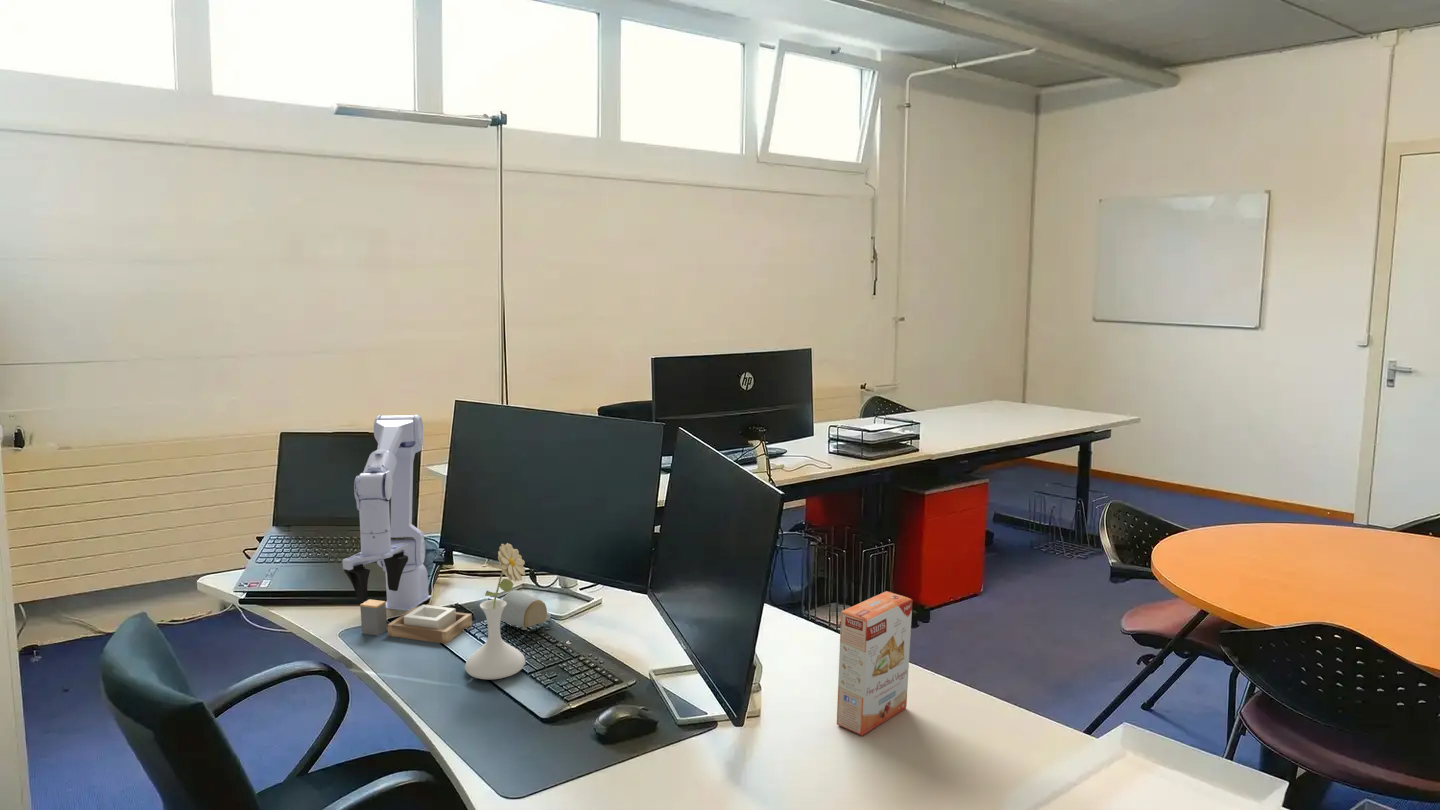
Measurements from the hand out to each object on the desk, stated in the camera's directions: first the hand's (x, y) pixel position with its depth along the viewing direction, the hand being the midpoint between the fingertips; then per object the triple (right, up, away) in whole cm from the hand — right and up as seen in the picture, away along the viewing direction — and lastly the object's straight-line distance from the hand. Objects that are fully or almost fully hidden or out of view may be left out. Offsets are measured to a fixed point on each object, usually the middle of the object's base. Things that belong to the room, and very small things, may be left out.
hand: (378, 595), depth 185 cm
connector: (-3, -10, +6) cm, 12 cm away
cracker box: (+97, -16, -28) cm, 102 cm away
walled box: (+9, -10, +7) cm, 15 cm away
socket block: (+9, -9, +7) cm, 14 cm away
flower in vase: (+27, -13, -10) cm, 32 cm away
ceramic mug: (+28, -9, +11) cm, 32 cm away
